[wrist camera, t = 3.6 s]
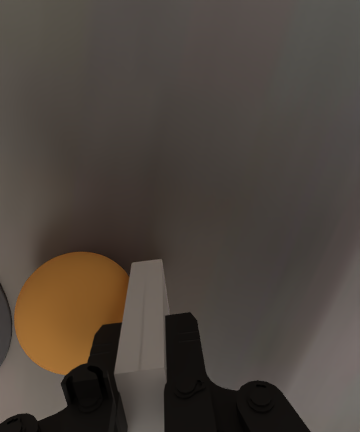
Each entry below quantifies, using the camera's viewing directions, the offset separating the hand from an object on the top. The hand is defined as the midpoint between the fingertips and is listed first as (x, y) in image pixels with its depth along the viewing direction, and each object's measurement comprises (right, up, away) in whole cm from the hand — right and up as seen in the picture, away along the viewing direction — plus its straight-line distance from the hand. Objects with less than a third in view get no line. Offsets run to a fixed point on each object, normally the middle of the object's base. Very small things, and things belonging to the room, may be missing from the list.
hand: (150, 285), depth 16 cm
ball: (-3, -1, 0) cm, 4 cm away
